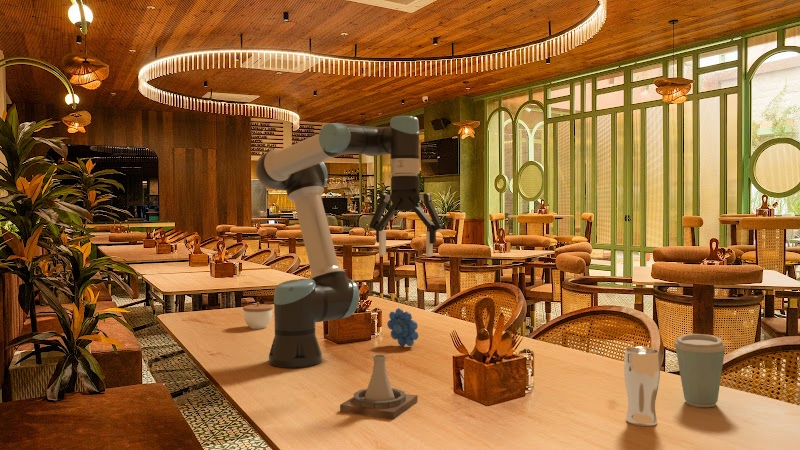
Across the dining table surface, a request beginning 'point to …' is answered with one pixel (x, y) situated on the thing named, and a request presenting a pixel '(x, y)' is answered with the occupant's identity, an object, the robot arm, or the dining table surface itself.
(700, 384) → the disposable coffee cup
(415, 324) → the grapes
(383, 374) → the flask
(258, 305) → the lidded jar
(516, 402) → the dining table surface
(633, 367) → the beer glass
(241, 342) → the dining table surface
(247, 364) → the dining table surface
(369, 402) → the walnut seat board
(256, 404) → the dining table surface
